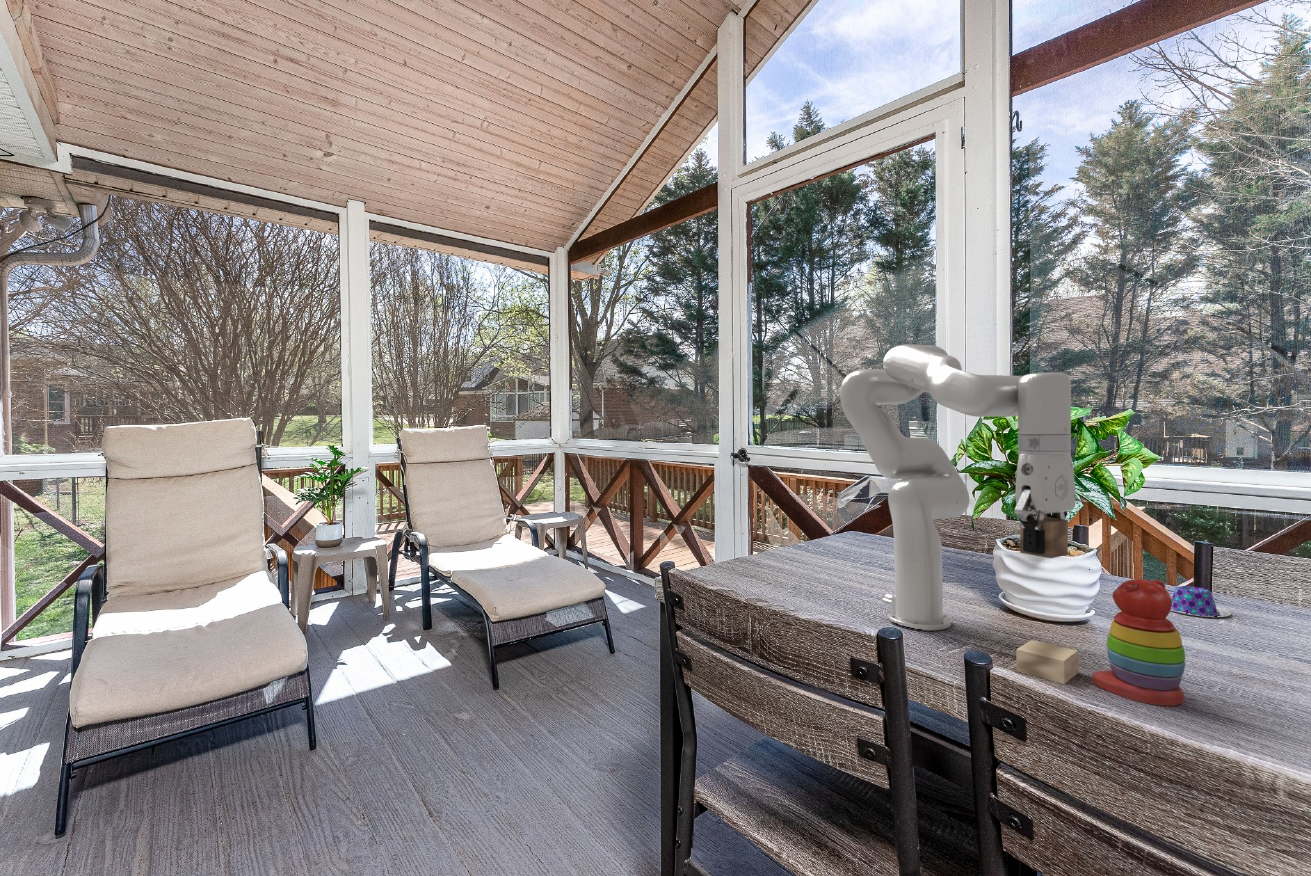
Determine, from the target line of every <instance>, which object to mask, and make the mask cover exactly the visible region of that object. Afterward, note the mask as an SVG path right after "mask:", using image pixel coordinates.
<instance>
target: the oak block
mask: <svg viewBox="0 0 1311 876" xmlns="http://www.w3.org/2000/svg"><path fill="white" fill-rule="evenodd" d="M1015 651H1016V654H1015V655H1016V658H1015V659H1016V672H1019V673H1023V674H1026V675H1029V676H1033V677H1037V678H1040V679H1044V680H1048V681H1052V682H1055V683H1058V684H1062V685H1065V684H1067V683H1068V682H1069V681H1070V680H1071V679H1072V678H1074V677H1075V676H1077V675H1078V674H1079V650H1078V649H1073V648H1069V647H1066V646H1065V647H1064V646H1060V645H1056V644H1055V645H1054V644H1050V643H1046V642H1042V641H1039V640H1038V641H1037V640H1035V639H1031V640H1029V641H1028V642H1026V643H1025V644H1023V645H1021V646H1019V647H1018V648H1017V649H1016V650H1015Z"/></svg>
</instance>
